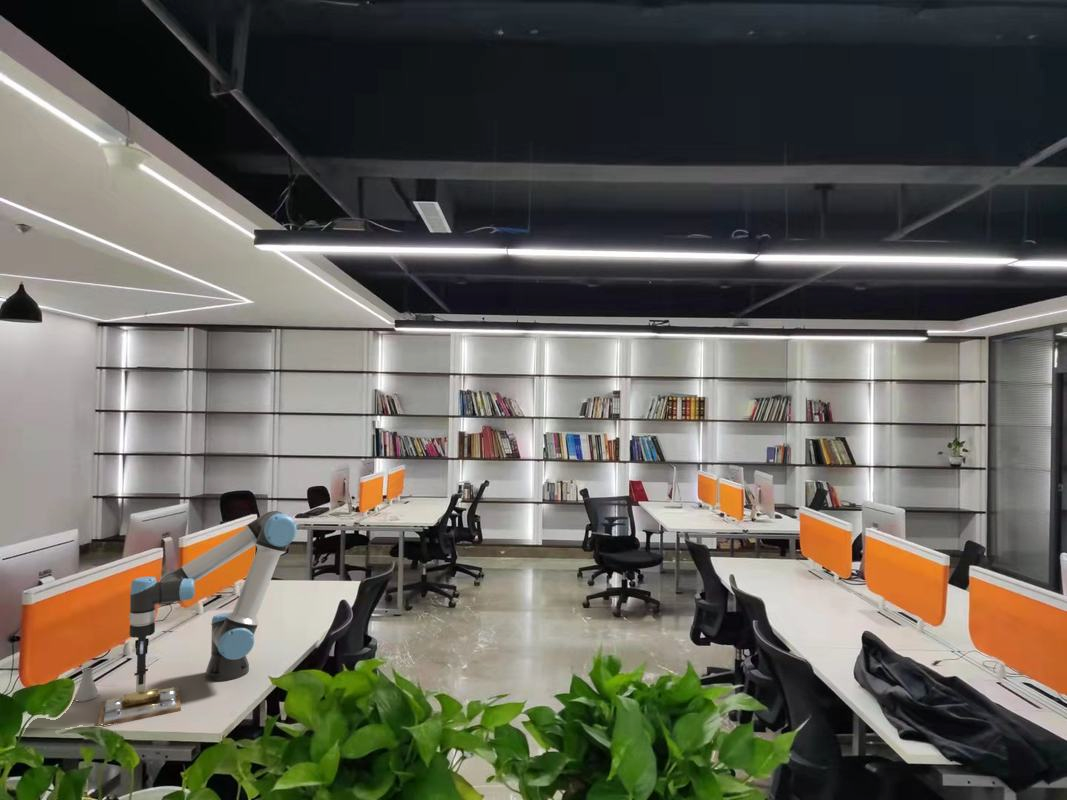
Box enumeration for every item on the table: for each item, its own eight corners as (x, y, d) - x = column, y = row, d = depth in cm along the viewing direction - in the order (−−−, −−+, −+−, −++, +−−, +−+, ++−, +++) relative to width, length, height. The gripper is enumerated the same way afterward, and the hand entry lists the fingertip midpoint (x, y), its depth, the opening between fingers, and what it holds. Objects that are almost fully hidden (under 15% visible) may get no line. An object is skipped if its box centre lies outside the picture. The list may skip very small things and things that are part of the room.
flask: (83, 703, 220) (83, 674, 221) (69, 700, 223) (70, 671, 224) (103, 695, 227) (104, 667, 228) (90, 692, 230) (91, 664, 230)
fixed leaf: (176, 698, 221) (176, 686, 221) (177, 707, 214) (177, 695, 214) (103, 712, 210) (104, 700, 210) (102, 722, 203) (102, 709, 203)
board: (178, 690, 231) (178, 687, 231) (180, 710, 214) (180, 707, 214) (102, 705, 219) (102, 701, 219) (98, 728, 202) (98, 724, 202)
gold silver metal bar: (174, 690, 228) (174, 679, 228) (174, 699, 220) (175, 687, 221) (106, 703, 217) (107, 691, 217) (105, 712, 210) (105, 700, 210)
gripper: (130, 620, 224) (128, 688, 223) (128, 630, 213) (126, 701, 212) (155, 616, 228) (153, 684, 227) (154, 626, 217) (153, 697, 216)
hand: (140, 692), depth 219 cm, fingers closed
